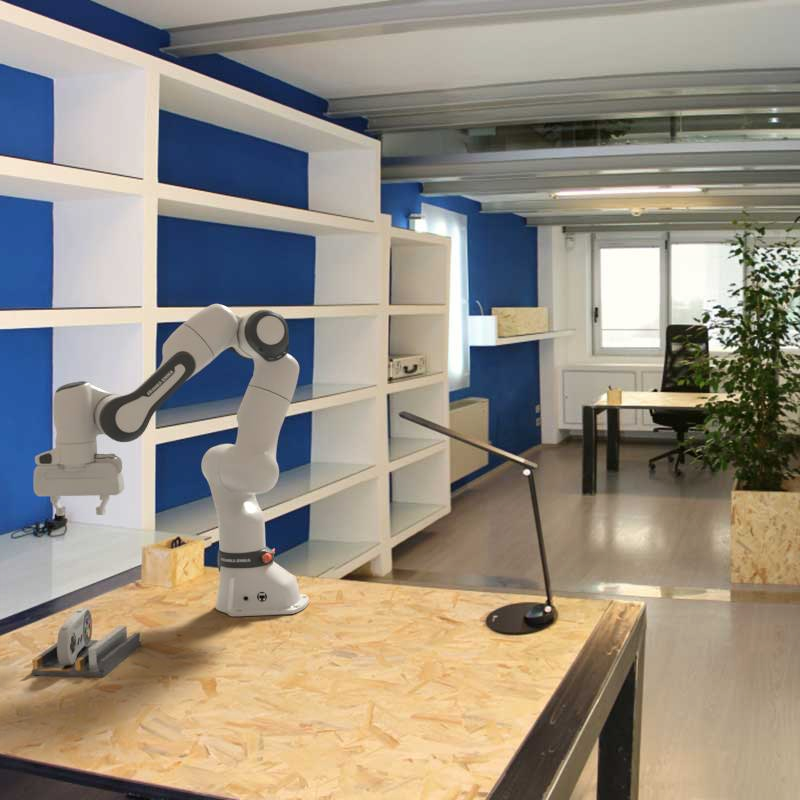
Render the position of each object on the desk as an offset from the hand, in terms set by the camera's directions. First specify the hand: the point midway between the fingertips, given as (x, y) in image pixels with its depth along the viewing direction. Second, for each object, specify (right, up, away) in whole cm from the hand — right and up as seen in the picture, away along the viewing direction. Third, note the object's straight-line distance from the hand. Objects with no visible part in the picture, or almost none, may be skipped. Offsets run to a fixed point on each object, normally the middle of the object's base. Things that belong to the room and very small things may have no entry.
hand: (81, 514), depth 231 cm
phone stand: (+8, -28, -19) cm, 35 cm away
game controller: (+5, -27, -20) cm, 34 cm away
